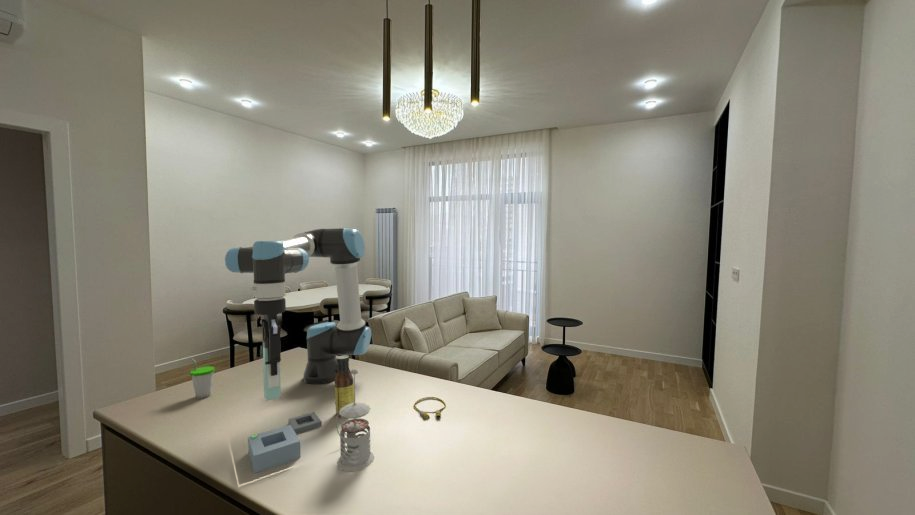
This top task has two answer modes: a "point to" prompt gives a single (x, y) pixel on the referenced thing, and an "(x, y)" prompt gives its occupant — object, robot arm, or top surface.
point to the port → (273, 448)
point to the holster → (305, 422)
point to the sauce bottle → (343, 384)
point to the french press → (354, 436)
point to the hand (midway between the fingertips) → (272, 383)
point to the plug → (268, 392)
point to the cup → (202, 380)
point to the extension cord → (425, 415)
